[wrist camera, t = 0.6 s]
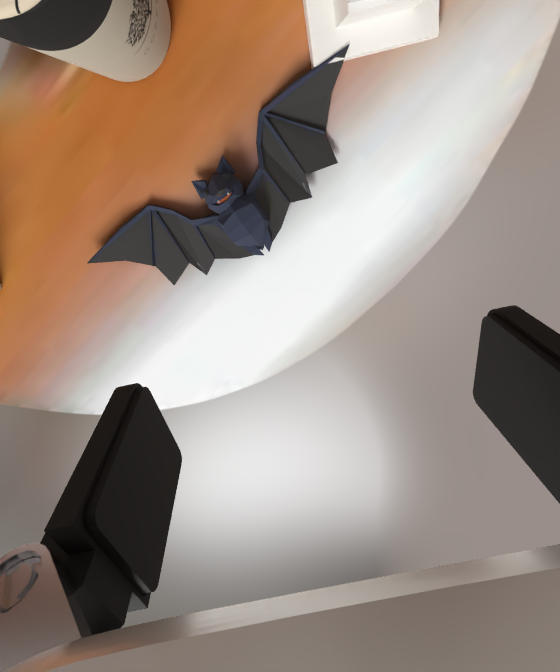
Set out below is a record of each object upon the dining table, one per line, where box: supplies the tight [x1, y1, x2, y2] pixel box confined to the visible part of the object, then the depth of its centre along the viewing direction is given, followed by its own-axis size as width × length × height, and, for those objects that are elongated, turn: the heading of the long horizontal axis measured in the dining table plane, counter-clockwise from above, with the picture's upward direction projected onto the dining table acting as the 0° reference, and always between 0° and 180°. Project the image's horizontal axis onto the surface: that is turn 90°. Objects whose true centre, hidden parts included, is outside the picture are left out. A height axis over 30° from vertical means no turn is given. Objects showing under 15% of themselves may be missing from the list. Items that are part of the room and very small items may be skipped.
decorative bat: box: [88, 44, 350, 285], centre depth 32 cm, size 30×4×10 cm
